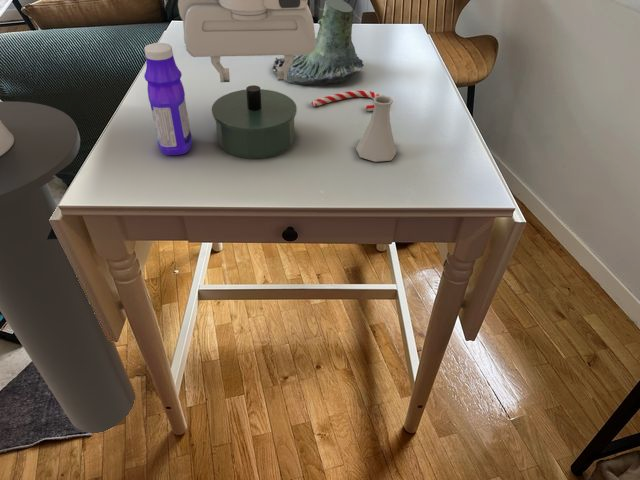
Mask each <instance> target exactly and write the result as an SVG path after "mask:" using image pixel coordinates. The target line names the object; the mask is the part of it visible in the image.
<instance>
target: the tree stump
mask: <svg viewBox="0 0 640 480" xmlns="http://www.w3.org/2000/svg"><path fill="white" fill-rule="evenodd" d="M353 18H354V8H353V7H352V6H351V4H349V3H348V2H346V1H344V0H325V1H324V7H323V12H322V17H321V18H320V19H318V20H317V24H318V25H319V28H318V31H317V35H316V37H315V49H314V51H313V52H312V53H311V54H308V55H293V62H292V64H291V66H290V68H289V69H288V71H287V81H285V82H286V83H288V84H292V85H298V86H316V85H317V86H322V85H329V84H335V83H342V82H343V81H345V80H347V78H350V77H351V76H353V75H355V74H358V73H359V72H360V71H361V70H362V69H363V67H364V66H365V64H364V63H363V60H362V59H361V58H360V57H359V56H358V54H357V52H356V48H355V46H354V42H353V41H352V40H353V39H352V38H353V37H352V34H353V33H352V32H353V31H352V30H353V25H354V21H353ZM284 62H285V59H284V57H281V58H278V57H275V60H274V64H273V65H272V71H273V74H274V75H275V76H276V77H277V78H278V74H277V73H278V72H277V67H282V66H283V64H284Z"/></svg>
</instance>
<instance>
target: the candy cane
mask: <svg viewBox="0 0 640 480" xmlns="http://www.w3.org/2000/svg"><path fill="white" fill-rule="evenodd" d="M380 95H381V94H379V93H377V92H374V91H370V90H349V91H343V92H339V93H334V94H331V95H327V96H324V97H320V98H316V99H314V100H312V101H311V105H312V107H315V108H316V107H319V106H322V105H325V104H328V103H333V102H336V101H340V100H345V99H350V98H368V99H372V100H373V99H374V97H375V96H380ZM365 111H366V112H373V111H374V104H369V105H366V107H365Z"/></svg>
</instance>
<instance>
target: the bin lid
mask: <svg viewBox="0 0 640 480" xmlns="http://www.w3.org/2000/svg"><path fill="white" fill-rule="evenodd" d="M297 109H298V107H297V104H296V102H295V101H294V100H293V99H292V98H291V97H289V96H288V95H287V94H284V93H282V92H280V91H279V92H278V91H275V90H271V89H264V88H261V86H260V85H254V84H253V85H248V86H246V88H245V89H241V90H237V91H236V90H235V91H232V92H228V93H226V94H224V95H222V96H220V97H218V99H216V100H215V101H214V102H213V104H212V106H211V115H212V117H213V119H214V120H216V121H217V122H218V123H220V124H221V125H223V126H225V127H227V128H230V129H234V130H238V131H247V132H260V131H268V130H273V129H276V128H279V127H282V126H284V125H286V124H288V123H289V122H290V121H292V120H293V119H294V120H295V118H296V116H297V111H298V110H297ZM216 121H215V122H216Z"/></svg>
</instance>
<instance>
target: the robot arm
mask: <svg viewBox="0 0 640 480" xmlns="http://www.w3.org/2000/svg"><path fill="white" fill-rule="evenodd" d="M308 1H309V0H177V8H178V14H179V17H180V19H181V20H182V22H183V21H184V22H185V41H184V44H185V43H186V44H185V50H186V52H187V53H188V55H190V57H193V58H209V57H210V63H211V65H212V66H213V68H214V69H215V70H216V71H217V73H219V80H220V83H230V82H231V81H230V80H231V78H230V68H229V67H224V66H223V64H222V63H221V57H255V56H257V57H258V56H259V57H261V56H263V57H264V56H283V58H284V59H285V62H284V64H283V66H282V67H277V72H278V73H277V74H278V77H277V81H280V82H282V81H283V82H286V81H287V71H288V69H289V68H290V66H291V64H292V62H293V55H308V54H311V53H312V52H313V51H314V49H315V39H316V31H315V24H314V23H315V22H314V19H313V15H312V12H311V8H310V6H309V5H308ZM13 143H14V137H13V135H12V134H11V133H10V131H9V130H8V129H7V128H6V127H5V126H4V124H3V123H2V122H1V120H0V156H1V155H3V154H4V153H6V152H7V151H8V150H9V149H10V148H11V146H12V145H13Z"/></svg>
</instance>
